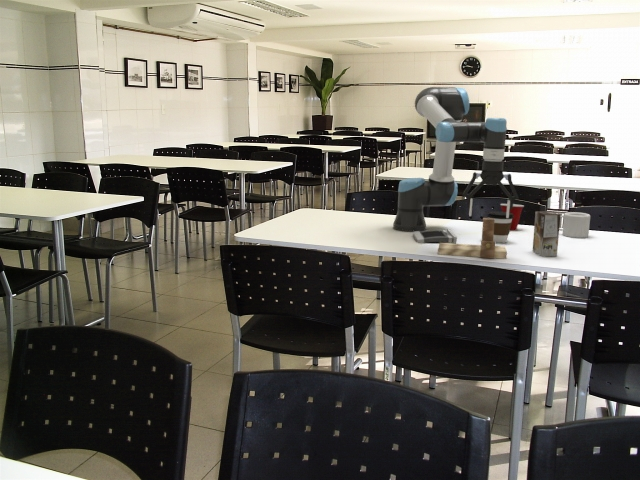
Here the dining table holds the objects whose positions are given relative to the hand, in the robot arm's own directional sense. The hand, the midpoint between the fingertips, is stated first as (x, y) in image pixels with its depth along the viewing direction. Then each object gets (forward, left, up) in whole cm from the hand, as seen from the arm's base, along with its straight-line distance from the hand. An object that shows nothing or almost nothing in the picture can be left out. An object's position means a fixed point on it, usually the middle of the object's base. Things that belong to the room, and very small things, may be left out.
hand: (488, 216), depth 232 cm
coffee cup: (+6, +28, -15) cm, 32 cm away
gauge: (0, -2, -14) cm, 14 cm away
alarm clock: (-21, +24, -15) cm, 35 cm away
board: (-5, 0, -15) cm, 16 cm away
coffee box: (+22, +8, -15) cm, 28 cm away
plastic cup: (+13, +59, -15) cm, 62 cm away
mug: (+39, +51, -15) cm, 66 cm away
